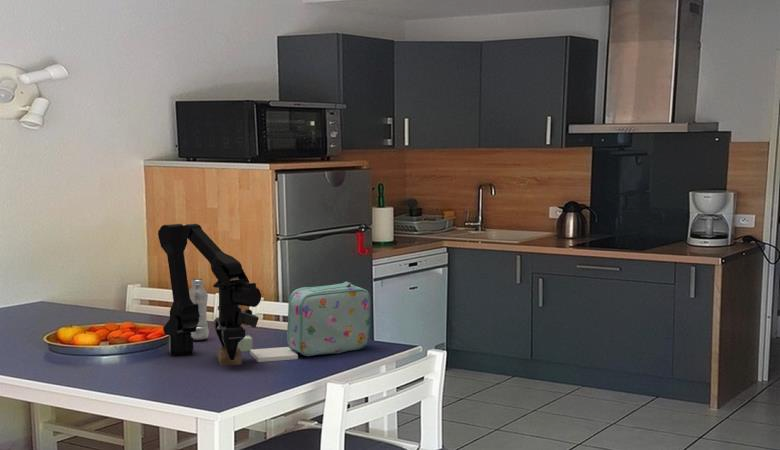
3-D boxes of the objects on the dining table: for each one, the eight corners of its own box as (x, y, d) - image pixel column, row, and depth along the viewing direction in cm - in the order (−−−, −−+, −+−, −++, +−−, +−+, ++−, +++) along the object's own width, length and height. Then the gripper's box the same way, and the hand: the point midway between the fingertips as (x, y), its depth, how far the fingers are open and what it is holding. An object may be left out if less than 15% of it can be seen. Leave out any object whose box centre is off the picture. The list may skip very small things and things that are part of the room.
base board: (258, 362, 270) (258, 358, 270) (249, 353, 282) (249, 349, 282) (297, 359, 274) (297, 355, 274) (288, 350, 286) (288, 346, 286)
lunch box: (356, 343, 297) (356, 277, 295) (374, 349, 289) (375, 281, 287) (284, 354, 281) (283, 284, 280) (301, 360, 273) (301, 288, 271)
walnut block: (220, 366, 266) (220, 352, 265) (217, 361, 271) (217, 348, 271) (241, 364, 268) (241, 351, 267) (238, 360, 273) (238, 347, 273)
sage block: (236, 352, 284) (236, 339, 283) (233, 349, 288) (233, 336, 288) (252, 351, 285) (252, 338, 285) (249, 348, 290) (249, 335, 290)
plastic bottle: (206, 342, 298) (205, 280, 296) (185, 342, 298) (184, 280, 296) (210, 338, 304) (210, 278, 302) (190, 337, 304) (189, 277, 303)
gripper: (262, 307, 262) (263, 361, 263) (249, 297, 280) (250, 348, 281) (223, 309, 258) (224, 364, 260) (213, 299, 276) (213, 350, 277)
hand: (229, 356), depth 269 cm, fingers open, 9 cm apart
